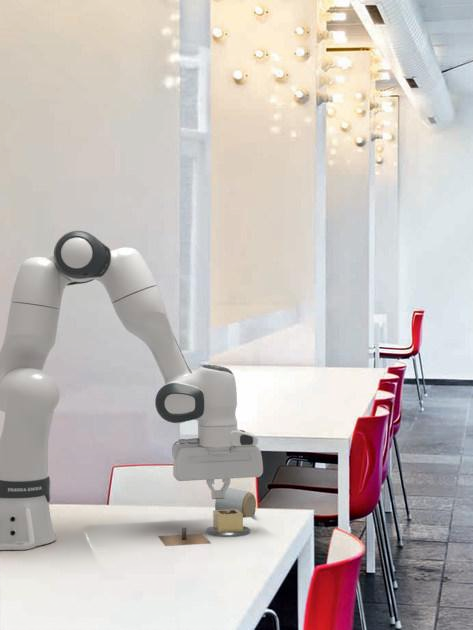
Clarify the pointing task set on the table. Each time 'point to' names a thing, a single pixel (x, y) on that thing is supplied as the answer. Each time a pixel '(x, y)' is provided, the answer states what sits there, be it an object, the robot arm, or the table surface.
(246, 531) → the stand
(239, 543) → the table surface
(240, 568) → the table surface
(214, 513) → the collar
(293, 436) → the table surface
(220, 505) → the grey cylinder tan end
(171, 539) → the stand
